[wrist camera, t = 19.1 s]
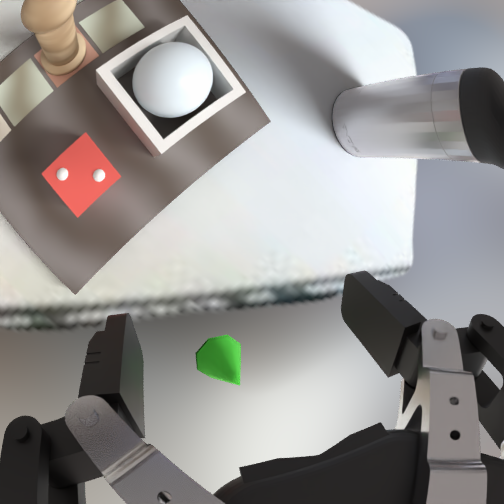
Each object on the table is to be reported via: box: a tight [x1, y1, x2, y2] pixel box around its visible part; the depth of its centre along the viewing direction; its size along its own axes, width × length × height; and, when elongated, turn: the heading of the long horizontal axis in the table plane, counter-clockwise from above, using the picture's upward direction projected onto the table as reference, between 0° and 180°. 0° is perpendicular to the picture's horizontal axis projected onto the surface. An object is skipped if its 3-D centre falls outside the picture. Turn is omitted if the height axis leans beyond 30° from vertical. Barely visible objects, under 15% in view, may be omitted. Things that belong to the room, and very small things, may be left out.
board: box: [0, 0, 271, 295], centre depth 23 cm, size 25×22×2 cm
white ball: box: [132, 42, 213, 118], centre depth 21 cm, size 6×6×6 cm
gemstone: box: [195, 335, 241, 385], centre depth 32 cm, size 6×6×6 cm
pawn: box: [21, 0, 86, 76], centre depth 14 cm, size 4×4×11 cm
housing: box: [96, 15, 246, 157], centre depth 23 cm, size 9×9×4 cm
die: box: [42, 132, 121, 218], centre depth 21 cm, size 4×4×4 cm
